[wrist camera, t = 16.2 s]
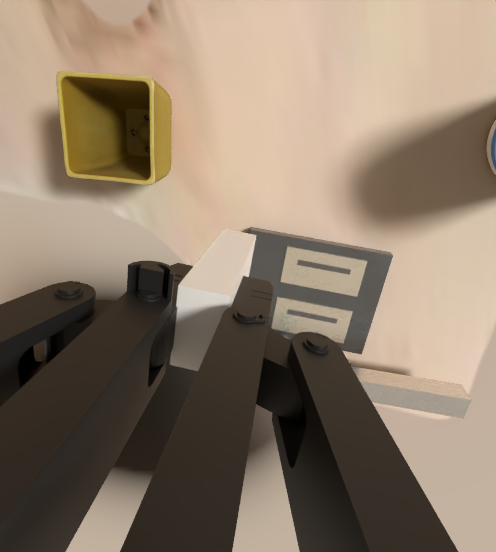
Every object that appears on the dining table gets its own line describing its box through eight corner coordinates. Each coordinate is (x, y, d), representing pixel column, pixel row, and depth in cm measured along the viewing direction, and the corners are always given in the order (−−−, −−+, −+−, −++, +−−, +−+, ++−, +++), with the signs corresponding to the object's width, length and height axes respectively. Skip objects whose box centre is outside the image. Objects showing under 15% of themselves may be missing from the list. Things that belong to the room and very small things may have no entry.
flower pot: (108, 84, 38) (53, 69, 30) (186, 90, 37) (152, 76, 29) (113, 169, 41) (65, 176, 33) (185, 176, 40) (154, 186, 32)
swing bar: (255, 371, 43) (251, 389, 40) (258, 346, 42) (254, 362, 39) (453, 406, 40) (465, 427, 37) (463, 380, 39) (476, 400, 36)
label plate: (236, 323, 46) (234, 329, 45) (251, 227, 41) (249, 230, 40) (360, 349, 45) (361, 355, 43) (390, 252, 40) (393, 256, 38)
